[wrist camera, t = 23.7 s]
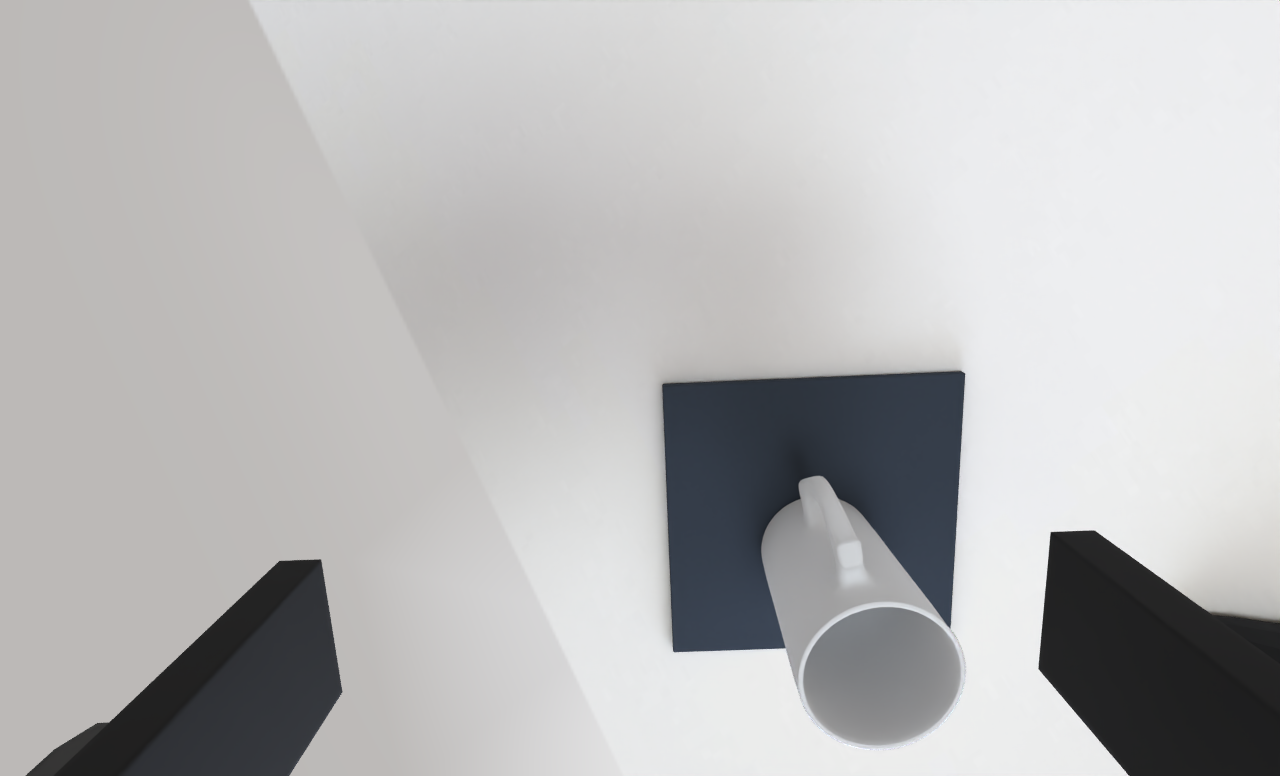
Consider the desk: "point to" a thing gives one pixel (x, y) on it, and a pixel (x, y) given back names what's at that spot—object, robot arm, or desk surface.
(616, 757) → the desk surface
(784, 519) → the mug
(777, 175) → the desk surface
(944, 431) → the mat
